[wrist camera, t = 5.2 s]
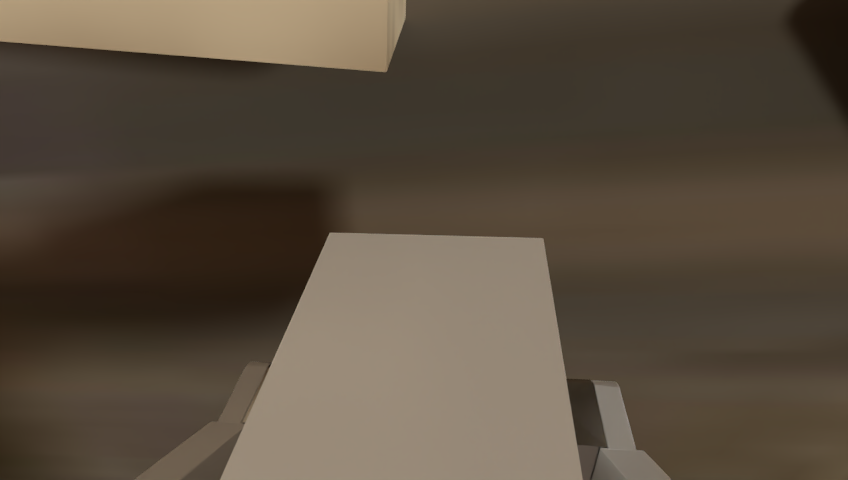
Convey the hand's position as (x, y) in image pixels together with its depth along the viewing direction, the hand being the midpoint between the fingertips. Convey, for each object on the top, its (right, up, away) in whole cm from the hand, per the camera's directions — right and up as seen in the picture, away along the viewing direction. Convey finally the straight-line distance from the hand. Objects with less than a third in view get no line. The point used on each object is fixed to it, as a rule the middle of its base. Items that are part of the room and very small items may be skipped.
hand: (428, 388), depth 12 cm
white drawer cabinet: (0, +1, +2) cm, 2 cm away
